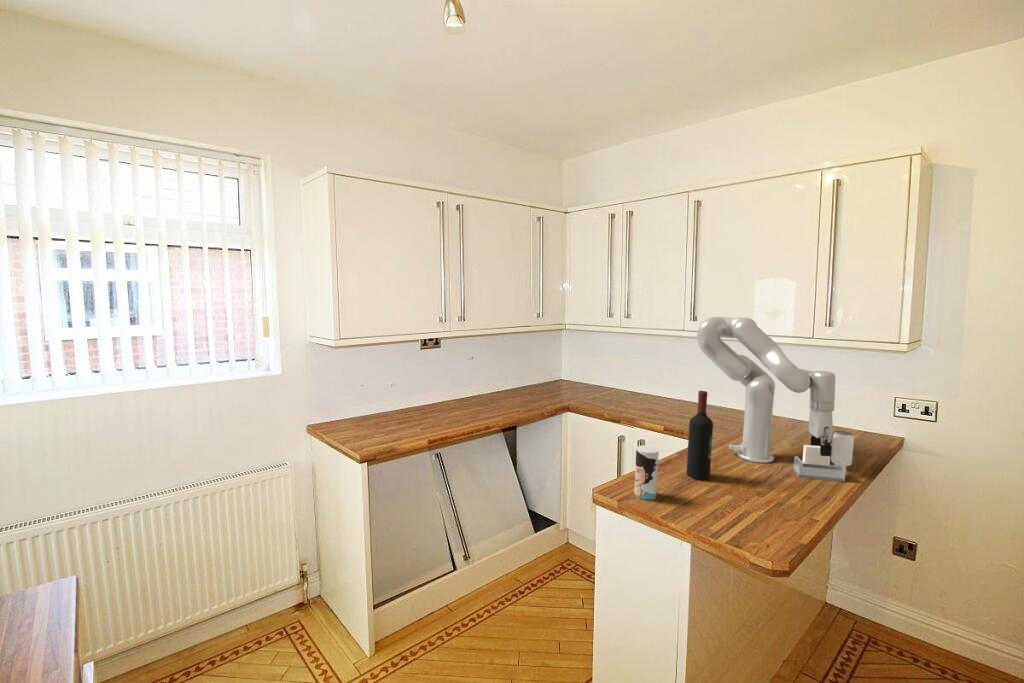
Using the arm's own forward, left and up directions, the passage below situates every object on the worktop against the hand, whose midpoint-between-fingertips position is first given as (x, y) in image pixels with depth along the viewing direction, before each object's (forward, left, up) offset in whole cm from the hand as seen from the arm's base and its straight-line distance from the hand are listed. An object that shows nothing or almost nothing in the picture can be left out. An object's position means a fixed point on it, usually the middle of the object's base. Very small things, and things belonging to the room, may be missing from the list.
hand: (820, 451), depth 174 cm
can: (+10, +8, -7) cm, 14 cm away
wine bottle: (-44, -21, -7) cm, 49 cm away
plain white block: (-1, 0, -6) cm, 7 cm away
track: (-3, -9, -6) cm, 11 cm away
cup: (-62, -42, -7) cm, 75 cm away
